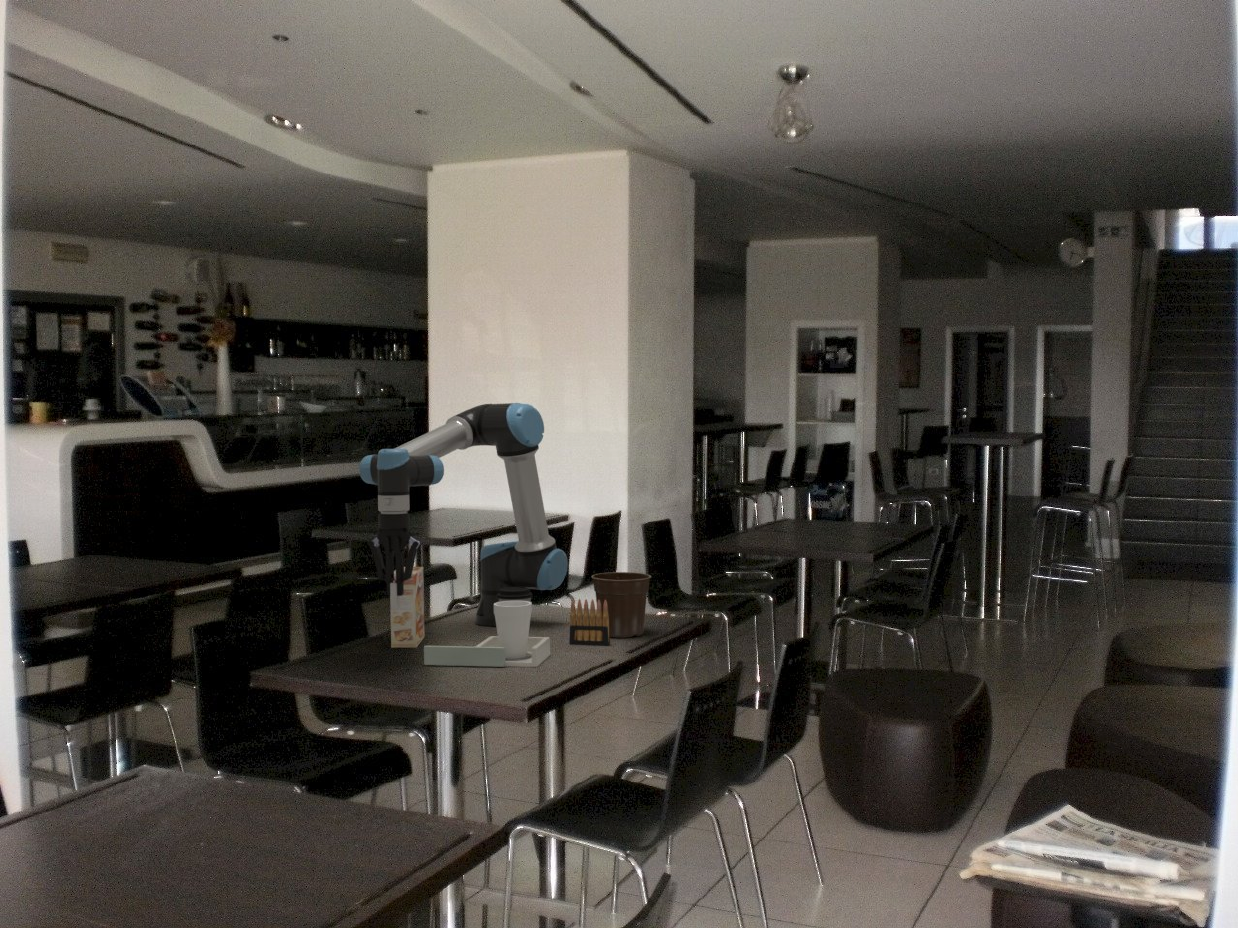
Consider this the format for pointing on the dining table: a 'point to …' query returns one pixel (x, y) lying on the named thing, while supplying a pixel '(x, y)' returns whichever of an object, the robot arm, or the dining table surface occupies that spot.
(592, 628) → the ammunition clip
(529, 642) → the housing
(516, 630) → the foam cup
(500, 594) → the coffee cup
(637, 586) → the plant pot
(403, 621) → the coffeecake box
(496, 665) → the gate
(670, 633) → the dining table surface
